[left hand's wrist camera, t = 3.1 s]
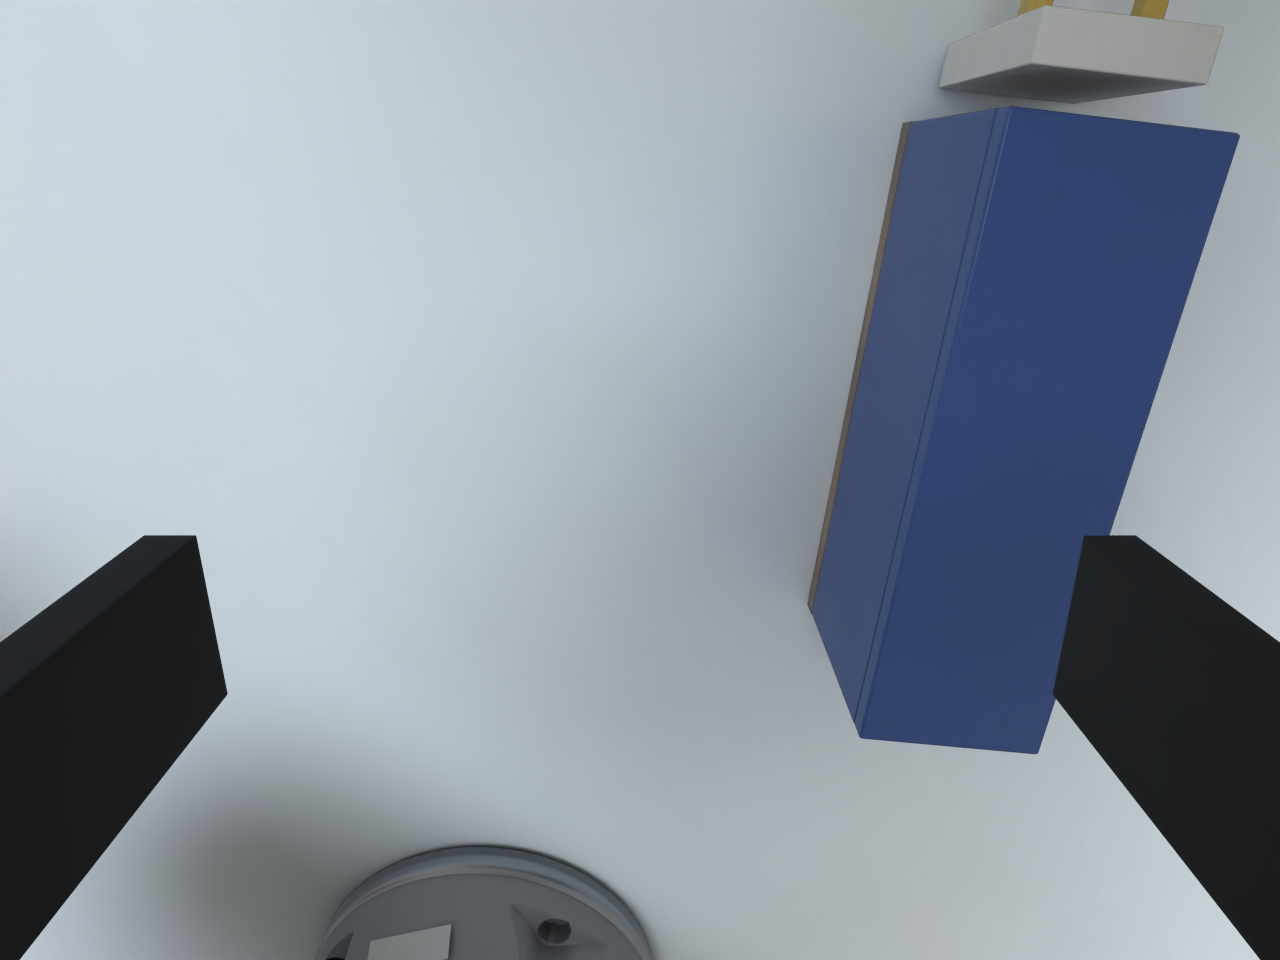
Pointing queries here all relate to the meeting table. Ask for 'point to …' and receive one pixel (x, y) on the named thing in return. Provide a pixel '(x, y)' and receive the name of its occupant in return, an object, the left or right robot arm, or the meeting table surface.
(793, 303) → the meeting table surface
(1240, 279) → the meeting table surface
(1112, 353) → the blue block
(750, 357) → the meeting table surface
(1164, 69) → the drawer
